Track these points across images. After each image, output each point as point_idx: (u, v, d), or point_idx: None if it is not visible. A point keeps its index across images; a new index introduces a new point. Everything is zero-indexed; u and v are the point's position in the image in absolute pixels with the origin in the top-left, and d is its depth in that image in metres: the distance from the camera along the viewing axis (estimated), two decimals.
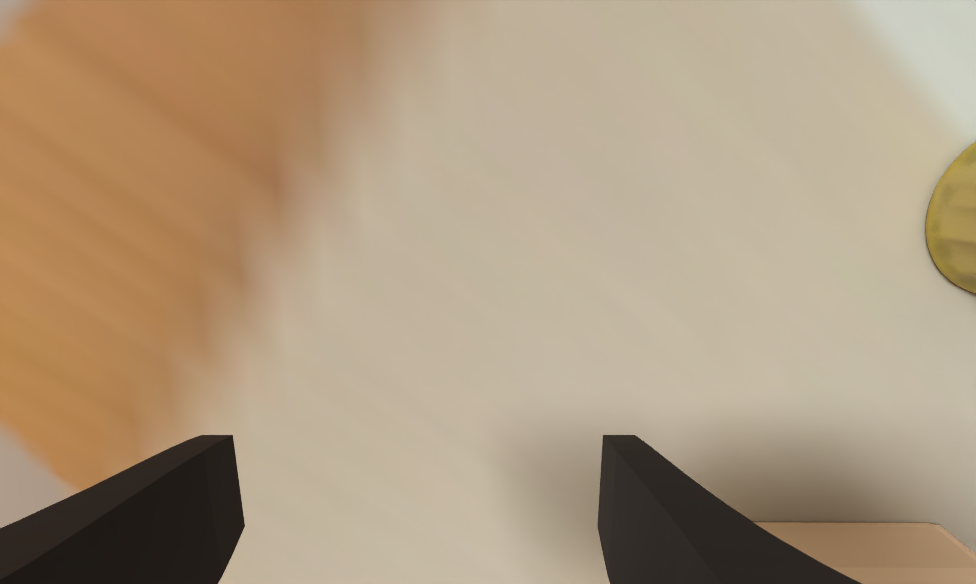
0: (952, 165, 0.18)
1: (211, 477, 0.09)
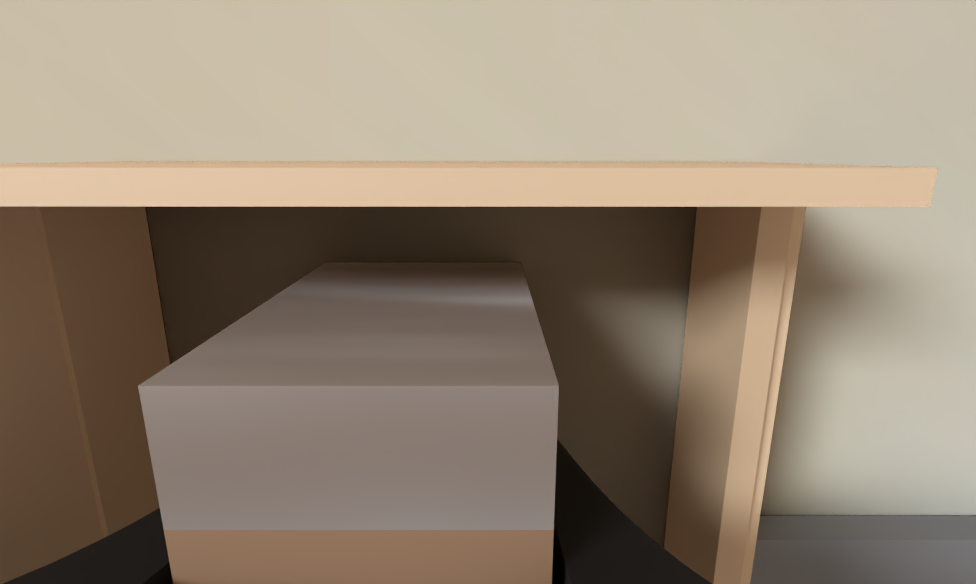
0: None
1: None
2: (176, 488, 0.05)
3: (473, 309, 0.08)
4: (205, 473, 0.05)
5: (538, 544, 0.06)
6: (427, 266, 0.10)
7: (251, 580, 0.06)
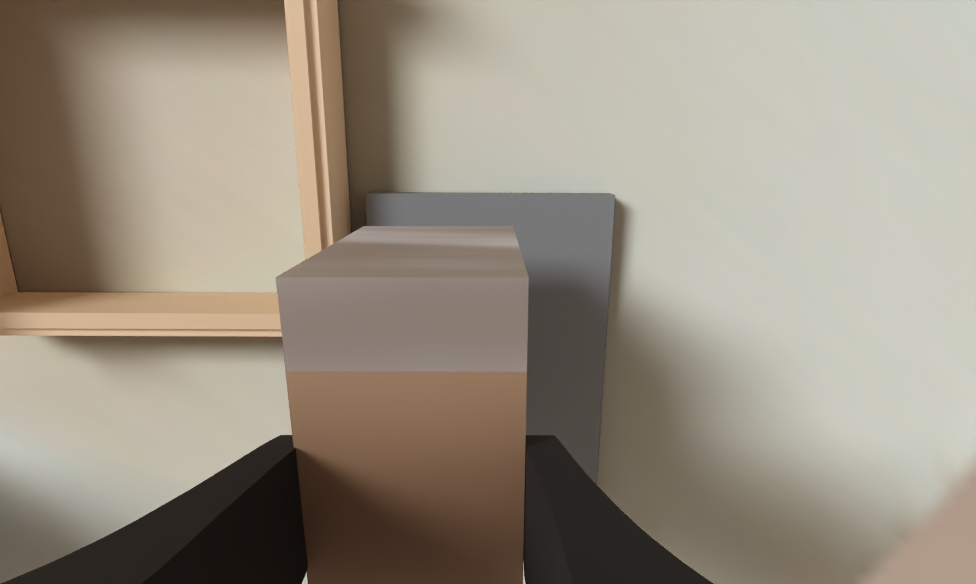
0: None
1: (297, 477, 0.09)
2: (295, 343, 0.09)
3: (477, 249, 0.11)
4: (314, 333, 0.09)
5: (517, 381, 0.09)
6: (441, 228, 0.14)
7: (338, 405, 0.09)
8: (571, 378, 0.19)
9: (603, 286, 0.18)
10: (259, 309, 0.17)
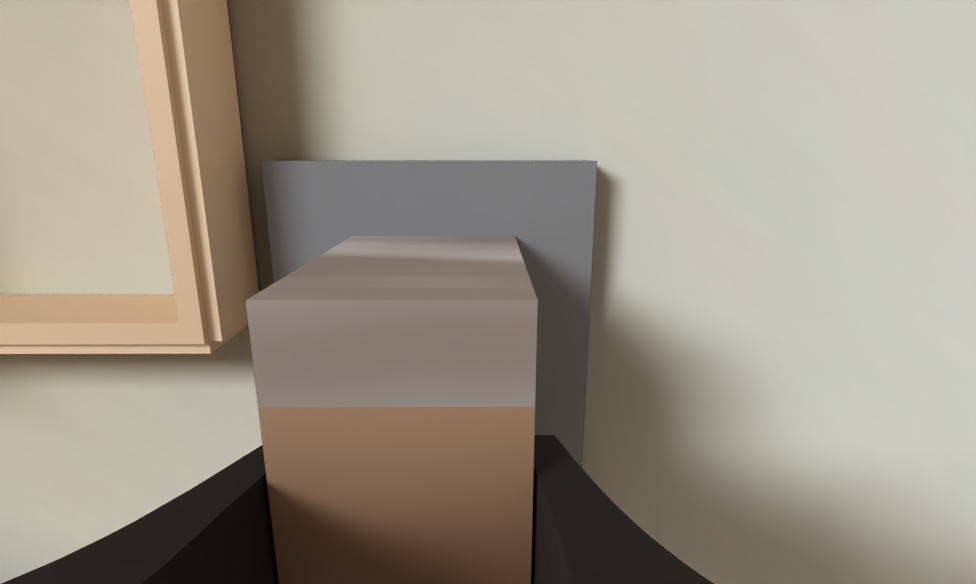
0: None
1: None
2: (268, 375, 0.08)
3: (477, 263, 0.10)
4: (289, 364, 0.07)
5: (524, 418, 0.08)
6: (437, 238, 0.13)
7: (319, 445, 0.08)
8: (543, 404, 0.14)
9: (582, 283, 0.13)
10: (116, 317, 0.12)
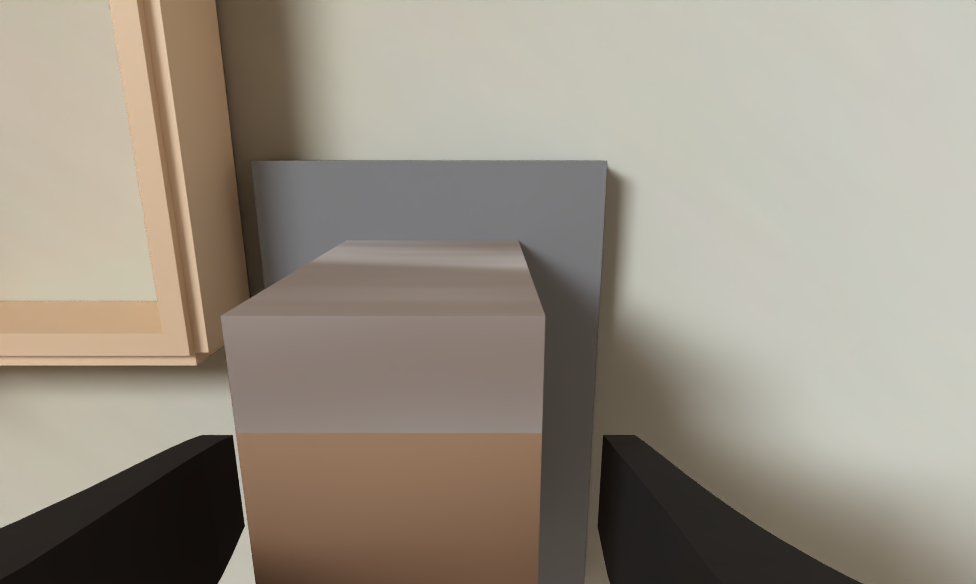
0: None
1: (211, 477, 0.09)
2: (247, 399, 0.07)
3: (478, 271, 0.09)
4: (270, 386, 0.07)
5: (530, 445, 0.07)
6: (436, 243, 0.12)
7: (303, 475, 0.07)
8: (549, 417, 0.13)
9: (591, 290, 0.13)
10: (97, 326, 0.12)
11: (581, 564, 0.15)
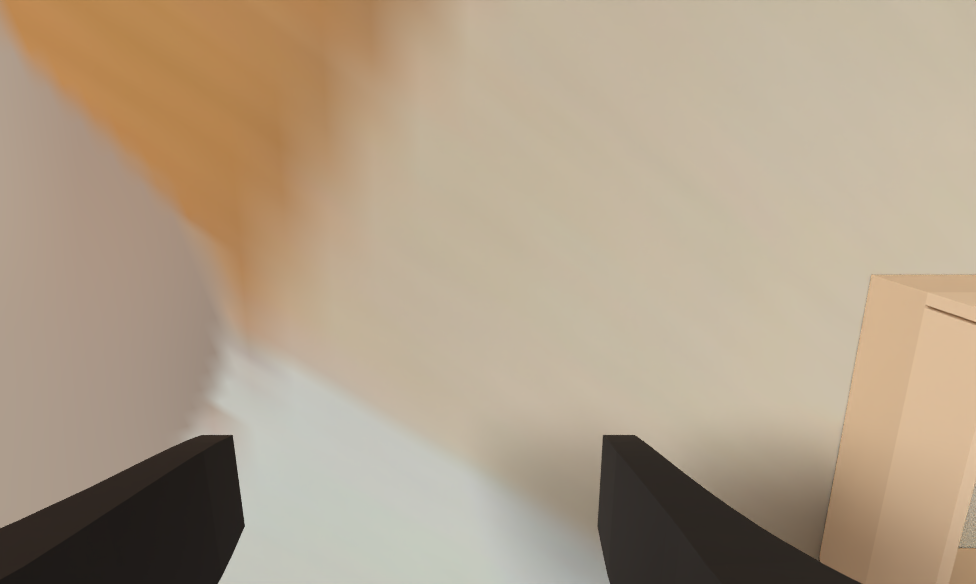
0: None
1: (211, 477, 0.09)
2: None
3: None
4: None
5: None
6: None
7: None
8: None
9: None
10: None
11: None
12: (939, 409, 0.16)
